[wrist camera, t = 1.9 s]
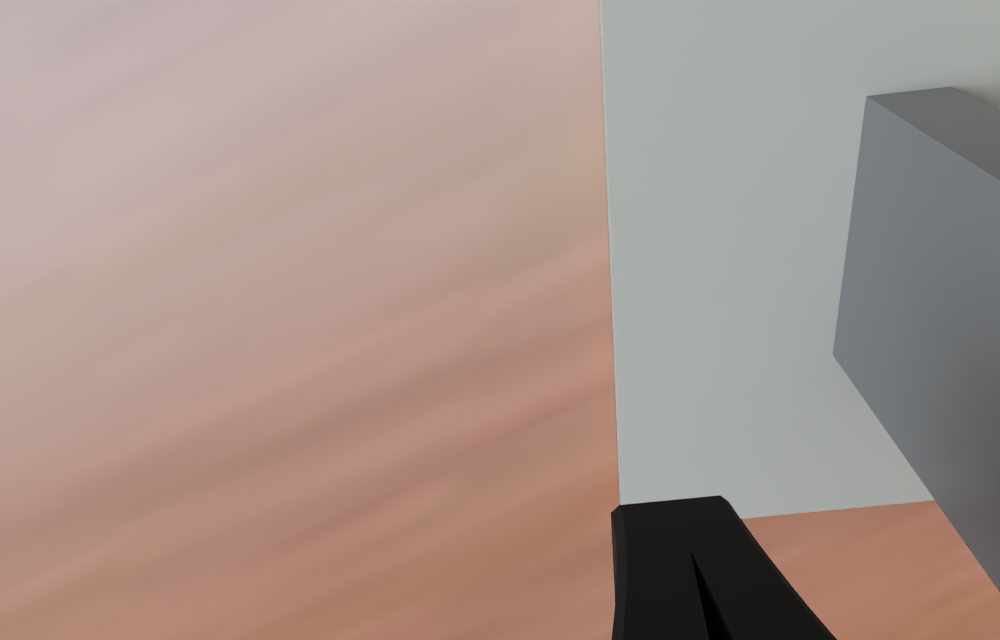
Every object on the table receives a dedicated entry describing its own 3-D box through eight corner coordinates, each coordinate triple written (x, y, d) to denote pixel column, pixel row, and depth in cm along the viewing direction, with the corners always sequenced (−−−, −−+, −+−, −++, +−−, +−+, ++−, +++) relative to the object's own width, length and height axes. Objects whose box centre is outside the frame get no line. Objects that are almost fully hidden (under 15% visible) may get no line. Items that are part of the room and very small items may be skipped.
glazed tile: (832, 354, 18) (1006, 602, 12) (866, 95, 15) (1121, 257, 9) (920, 345, 18) (1138, 590, 12) (971, 84, 15) (1297, 238, 9)
